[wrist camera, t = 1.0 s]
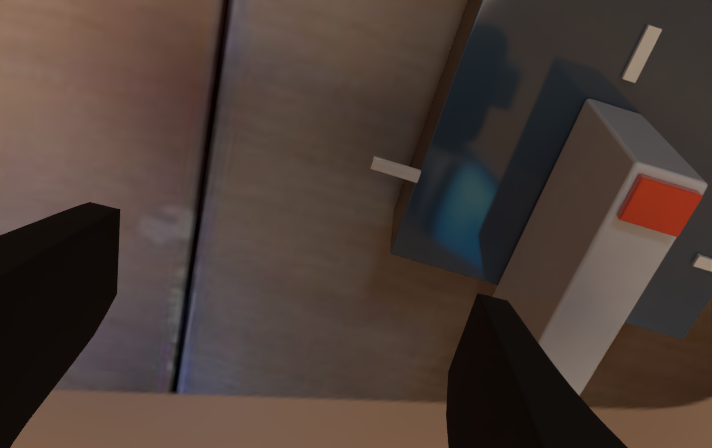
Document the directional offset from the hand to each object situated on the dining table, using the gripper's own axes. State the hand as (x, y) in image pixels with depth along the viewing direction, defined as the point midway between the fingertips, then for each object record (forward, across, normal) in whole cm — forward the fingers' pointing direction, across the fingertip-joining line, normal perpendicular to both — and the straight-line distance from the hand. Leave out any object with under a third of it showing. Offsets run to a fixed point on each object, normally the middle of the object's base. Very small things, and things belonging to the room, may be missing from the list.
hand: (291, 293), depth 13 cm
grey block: (+6, -7, 0) cm, 9 cm away
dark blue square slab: (+9, -7, -1) cm, 12 cm away
